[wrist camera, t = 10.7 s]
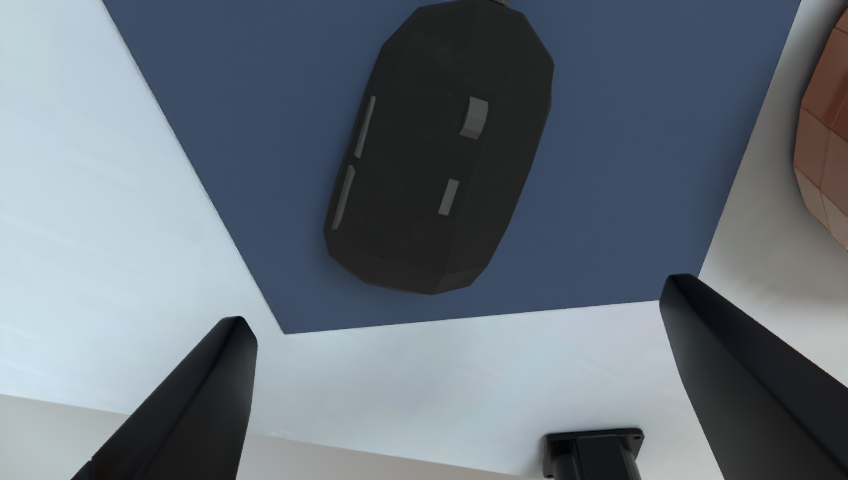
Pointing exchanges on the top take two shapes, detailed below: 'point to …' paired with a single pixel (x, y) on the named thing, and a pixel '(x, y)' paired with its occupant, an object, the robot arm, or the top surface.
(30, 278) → the top surface
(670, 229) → the mouse mat
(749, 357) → the robot arm
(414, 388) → the top surface
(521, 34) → the gaming mouse
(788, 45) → the top surface
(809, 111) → the terracotta plant saucer
